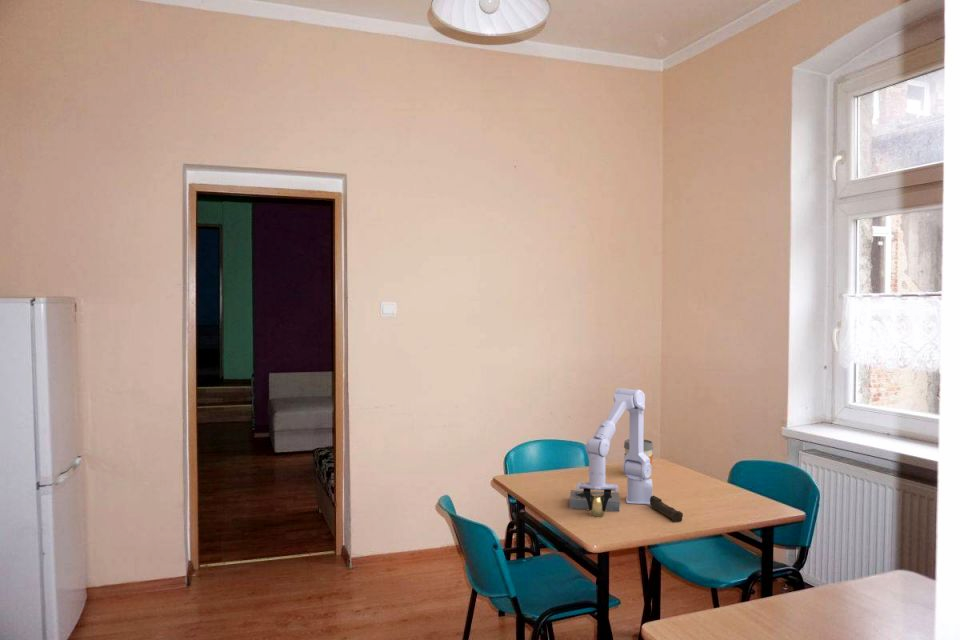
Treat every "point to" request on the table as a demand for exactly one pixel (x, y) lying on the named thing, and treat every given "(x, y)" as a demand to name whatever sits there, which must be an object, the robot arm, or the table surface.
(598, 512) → the brass fitting
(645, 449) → the reusable coffee cup
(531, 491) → the table surface
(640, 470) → the robot arm
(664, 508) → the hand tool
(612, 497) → the grey flat block
